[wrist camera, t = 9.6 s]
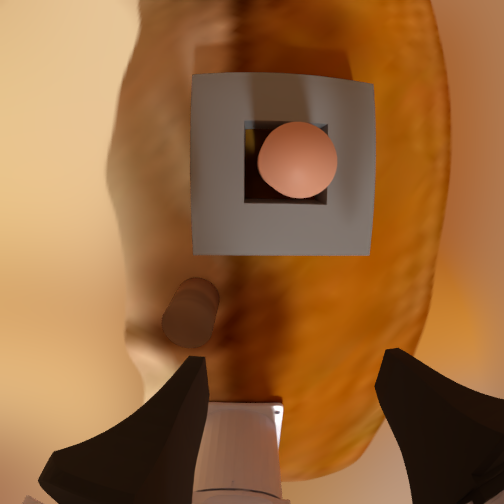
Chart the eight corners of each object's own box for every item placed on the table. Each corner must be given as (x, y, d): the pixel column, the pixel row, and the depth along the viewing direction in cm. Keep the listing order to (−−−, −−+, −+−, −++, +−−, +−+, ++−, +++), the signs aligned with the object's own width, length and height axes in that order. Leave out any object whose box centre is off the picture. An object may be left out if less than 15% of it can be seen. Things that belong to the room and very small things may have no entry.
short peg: (220, 317, 20) (214, 349, 16) (179, 316, 20) (165, 346, 16) (218, 277, 19) (210, 304, 15) (175, 277, 19) (158, 302, 15)
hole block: (352, 242, 18) (369, 255, 16) (201, 241, 18) (193, 255, 16) (355, 95, 16) (373, 84, 13) (201, 89, 16) (192, 74, 13)
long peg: (304, 188, 18) (336, 199, 11) (256, 187, 18) (260, 197, 11) (304, 141, 17) (337, 124, 10) (256, 139, 17) (260, 120, 10)
